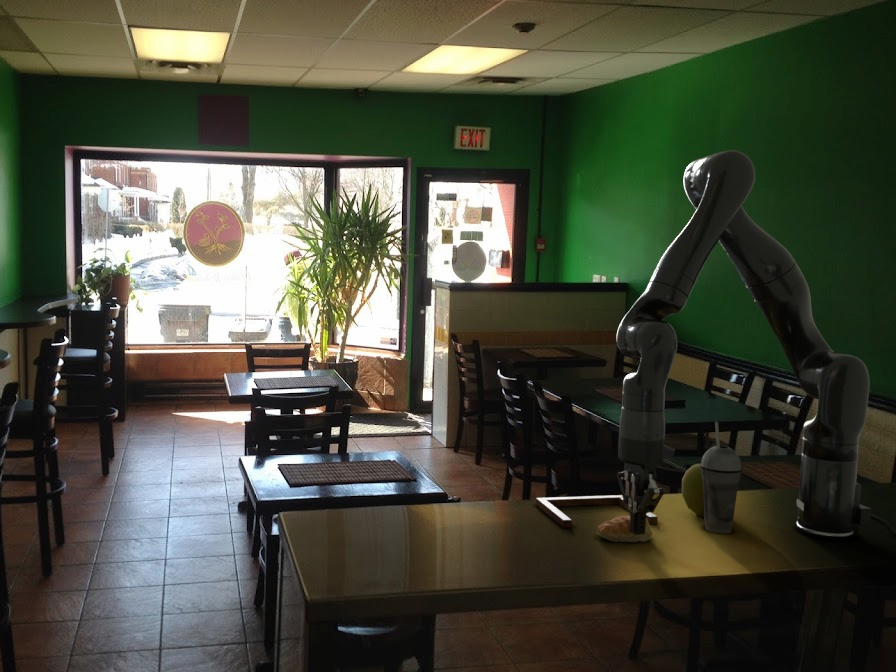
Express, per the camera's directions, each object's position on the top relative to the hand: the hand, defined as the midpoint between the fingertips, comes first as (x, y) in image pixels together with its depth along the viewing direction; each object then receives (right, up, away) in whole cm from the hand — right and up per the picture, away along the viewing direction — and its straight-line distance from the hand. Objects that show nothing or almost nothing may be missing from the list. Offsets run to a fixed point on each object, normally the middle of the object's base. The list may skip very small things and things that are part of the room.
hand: (637, 533), depth 155 cm
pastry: (-1, -2, +4) cm, 5 cm away
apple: (+19, -1, +19) cm, 27 cm away
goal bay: (-3, -1, +17) cm, 17 cm away
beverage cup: (+18, -2, +10) cm, 20 cm away
